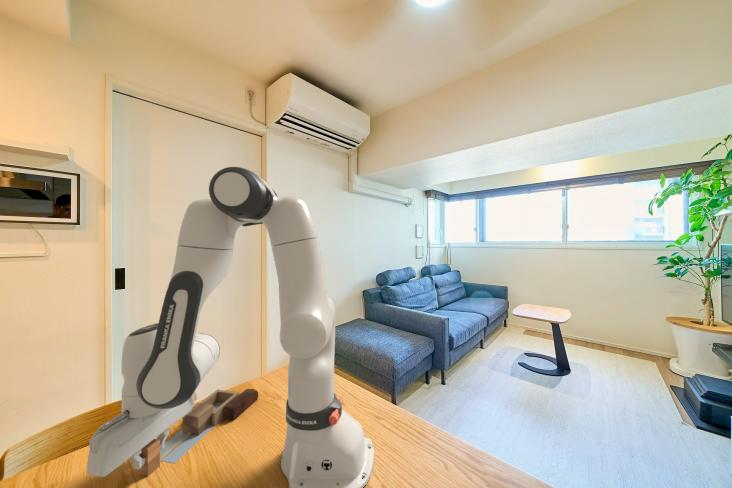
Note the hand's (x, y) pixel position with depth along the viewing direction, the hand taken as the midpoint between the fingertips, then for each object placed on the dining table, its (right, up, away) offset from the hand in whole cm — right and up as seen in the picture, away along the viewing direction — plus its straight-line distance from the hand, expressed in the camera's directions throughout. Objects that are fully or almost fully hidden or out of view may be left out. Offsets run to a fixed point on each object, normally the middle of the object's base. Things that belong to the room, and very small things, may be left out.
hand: (149, 458), depth 56 cm
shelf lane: (+3, -4, +13) cm, 14 cm away
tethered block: (+1, -3, +7) cm, 8 cm away
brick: (+10, -4, +21) cm, 24 cm away
